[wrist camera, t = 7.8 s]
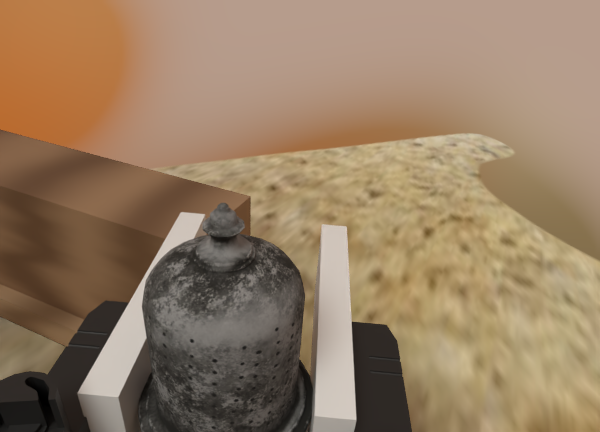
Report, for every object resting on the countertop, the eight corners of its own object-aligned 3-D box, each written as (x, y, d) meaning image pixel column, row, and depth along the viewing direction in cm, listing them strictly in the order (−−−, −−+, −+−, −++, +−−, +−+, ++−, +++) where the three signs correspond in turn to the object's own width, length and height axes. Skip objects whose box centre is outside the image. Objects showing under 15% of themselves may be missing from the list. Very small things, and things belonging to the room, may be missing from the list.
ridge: (-83, 278, 26) (-145, 149, 22) (11, 229, 31) (-25, 116, 27) (211, 412, 20) (202, 265, 16) (273, 324, 24) (277, 194, 20)
